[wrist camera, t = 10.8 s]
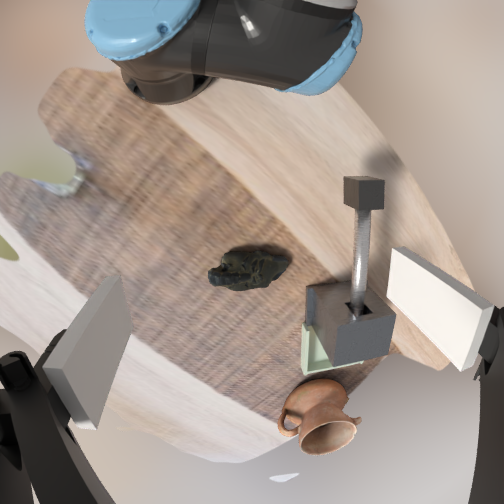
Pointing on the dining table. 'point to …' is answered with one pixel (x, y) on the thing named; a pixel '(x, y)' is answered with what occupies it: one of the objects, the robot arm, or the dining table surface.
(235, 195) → the dining table surface
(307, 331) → the tray
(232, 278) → the stone
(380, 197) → the shaft
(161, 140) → the dining table surface
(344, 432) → the ceramic jug
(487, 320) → the robot arm
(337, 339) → the bearing block
